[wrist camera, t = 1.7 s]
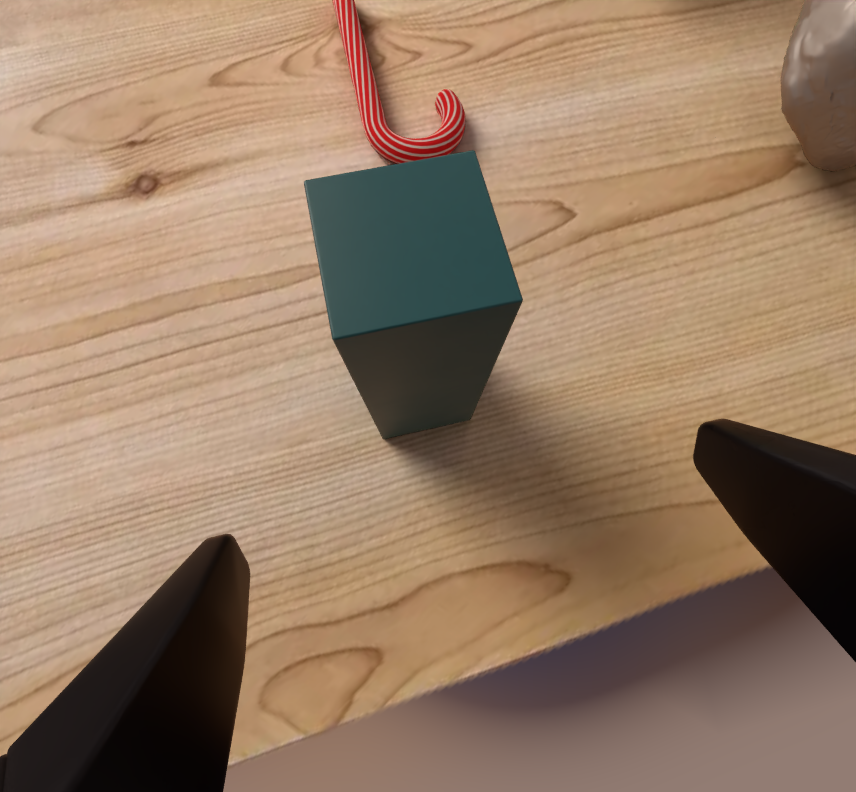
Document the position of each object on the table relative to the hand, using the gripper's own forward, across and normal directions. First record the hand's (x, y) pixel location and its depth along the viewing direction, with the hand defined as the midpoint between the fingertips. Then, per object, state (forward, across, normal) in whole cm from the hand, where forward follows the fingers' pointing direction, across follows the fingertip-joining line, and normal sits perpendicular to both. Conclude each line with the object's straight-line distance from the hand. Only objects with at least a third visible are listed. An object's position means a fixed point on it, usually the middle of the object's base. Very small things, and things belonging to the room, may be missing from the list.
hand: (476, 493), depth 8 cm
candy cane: (+28, -2, -10) cm, 30 cm away
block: (+13, 0, +4) cm, 14 cm away
